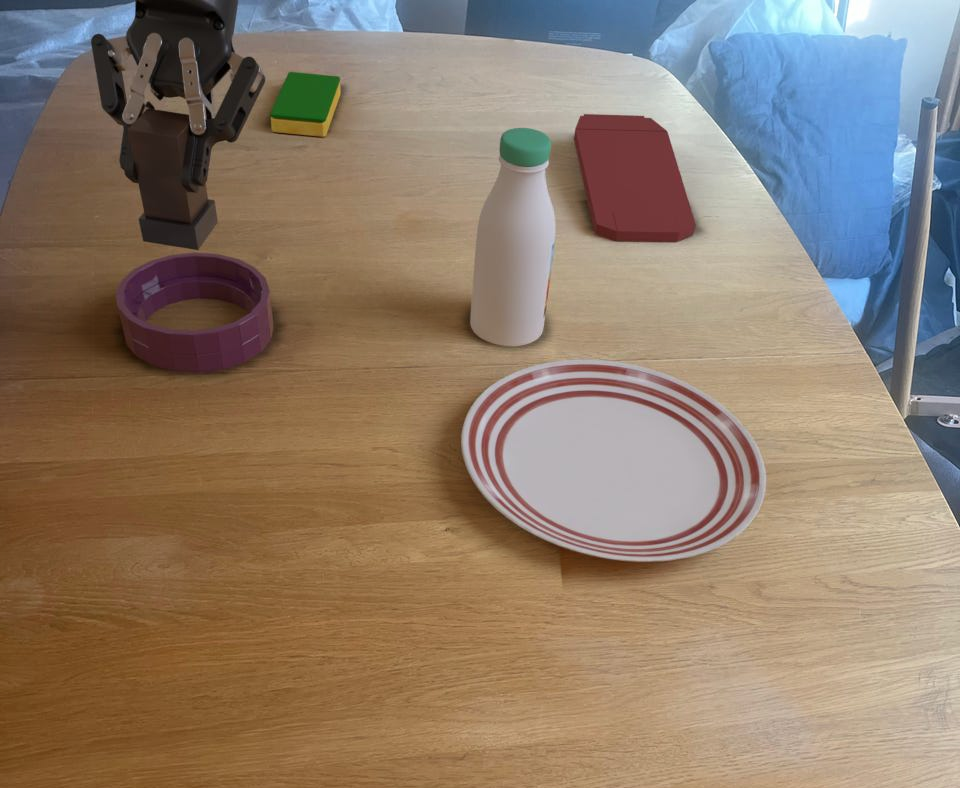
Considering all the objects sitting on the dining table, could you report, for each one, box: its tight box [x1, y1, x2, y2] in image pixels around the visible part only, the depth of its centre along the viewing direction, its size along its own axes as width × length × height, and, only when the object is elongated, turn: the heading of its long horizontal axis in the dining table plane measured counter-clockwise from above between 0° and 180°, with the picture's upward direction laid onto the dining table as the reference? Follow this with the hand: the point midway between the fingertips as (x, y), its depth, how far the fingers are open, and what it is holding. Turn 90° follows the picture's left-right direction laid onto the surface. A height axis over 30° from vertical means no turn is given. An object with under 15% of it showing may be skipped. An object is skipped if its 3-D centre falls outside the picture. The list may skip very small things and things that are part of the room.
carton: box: [573, 113, 697, 243], centre depth 126 cm, size 12×5×25 cm
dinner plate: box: [460, 358, 767, 563], centre depth 90 cm, size 27×27×3 cm
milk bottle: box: [469, 127, 556, 347], centre depth 97 cm, size 8×8×20 cm
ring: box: [115, 252, 274, 374], centre depth 98 cm, size 14×14×5 cm
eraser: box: [128, 108, 219, 251], centre depth 81 cm, size 5×5×9 cm
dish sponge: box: [269, 71, 342, 138], centre depth 133 cm, size 7×14×2 cm, turn 177°
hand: (161, 183), depth 79 cm, fingers closed on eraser, 4 cm apart
